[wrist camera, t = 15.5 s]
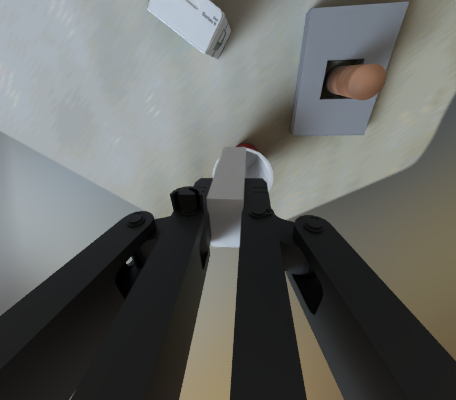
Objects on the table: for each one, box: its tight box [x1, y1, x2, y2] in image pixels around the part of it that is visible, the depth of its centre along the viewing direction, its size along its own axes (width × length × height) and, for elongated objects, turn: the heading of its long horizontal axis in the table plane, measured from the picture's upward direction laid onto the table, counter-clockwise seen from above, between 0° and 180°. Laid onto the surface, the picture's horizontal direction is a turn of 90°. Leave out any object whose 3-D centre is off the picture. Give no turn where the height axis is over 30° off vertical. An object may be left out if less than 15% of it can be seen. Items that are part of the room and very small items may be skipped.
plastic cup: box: [212, 143, 273, 192], centre depth 39 cm, size 11×11×12 cm
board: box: [290, 1, 410, 136], centre depth 33 cm, size 18×13×3 cm
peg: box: [324, 64, 386, 100], centre depth 30 cm, size 4×4×12 cm
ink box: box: [147, 0, 231, 59], centre depth 28 cm, size 9×5×12 cm, turn 58°
